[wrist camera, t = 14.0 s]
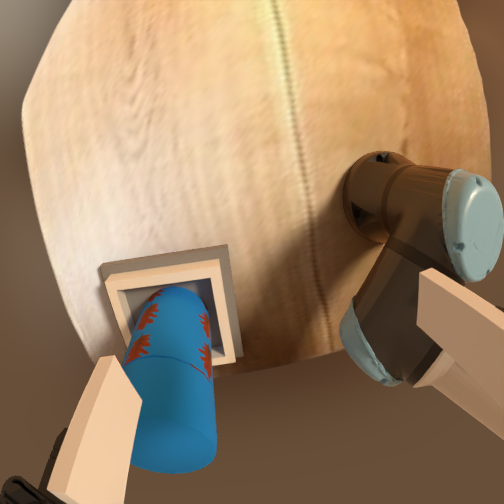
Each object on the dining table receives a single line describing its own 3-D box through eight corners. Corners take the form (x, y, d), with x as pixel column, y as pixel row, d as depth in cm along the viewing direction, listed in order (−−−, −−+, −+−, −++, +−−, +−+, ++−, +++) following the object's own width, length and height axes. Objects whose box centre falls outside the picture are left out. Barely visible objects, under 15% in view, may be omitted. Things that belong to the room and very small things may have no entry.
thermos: (221, 330, 46) (237, 463, 22) (164, 351, 46) (148, 478, 22) (190, 274, 42) (177, 401, 19) (130, 300, 42) (79, 423, 18)
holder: (227, 244, 43) (229, 254, 39) (243, 351, 50) (246, 367, 45) (102, 263, 41) (93, 273, 37) (136, 363, 48) (132, 379, 43)
